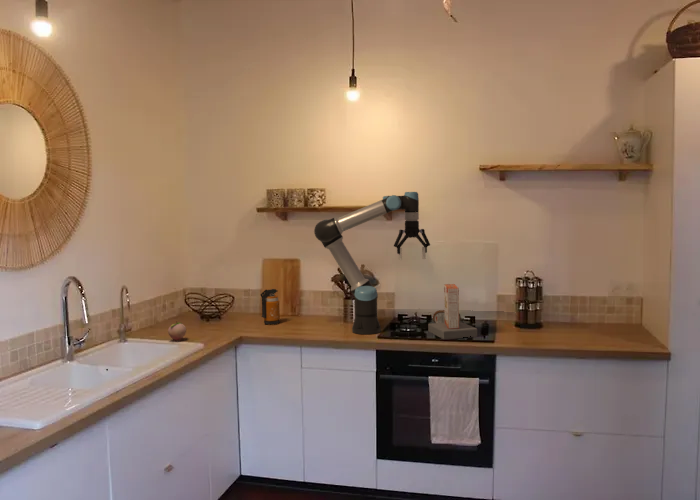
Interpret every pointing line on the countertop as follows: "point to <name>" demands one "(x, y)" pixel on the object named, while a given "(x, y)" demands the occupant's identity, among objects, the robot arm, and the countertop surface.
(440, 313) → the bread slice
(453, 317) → the cracker box
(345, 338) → the countertop surface
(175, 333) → the decorative fruit
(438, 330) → the podium
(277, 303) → the canister
